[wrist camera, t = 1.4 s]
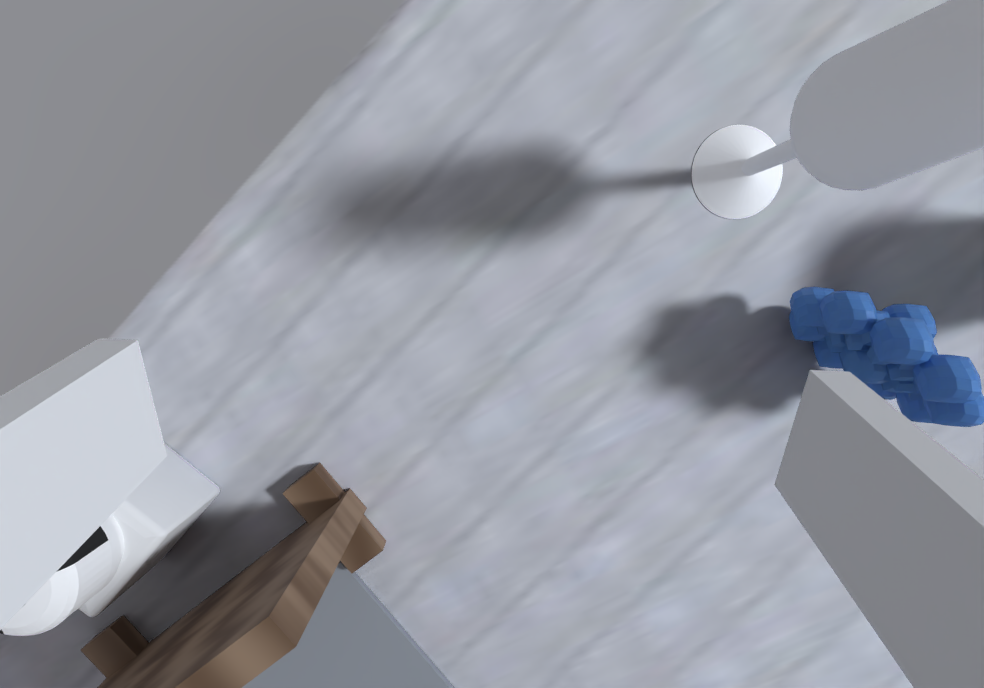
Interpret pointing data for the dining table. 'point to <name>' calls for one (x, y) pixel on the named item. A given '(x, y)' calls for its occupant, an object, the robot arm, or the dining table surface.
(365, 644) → the mat
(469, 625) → the dining table surface
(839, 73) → the champagne flute
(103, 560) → the container
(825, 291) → the grapes
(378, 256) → the dining table surface
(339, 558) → the screen
